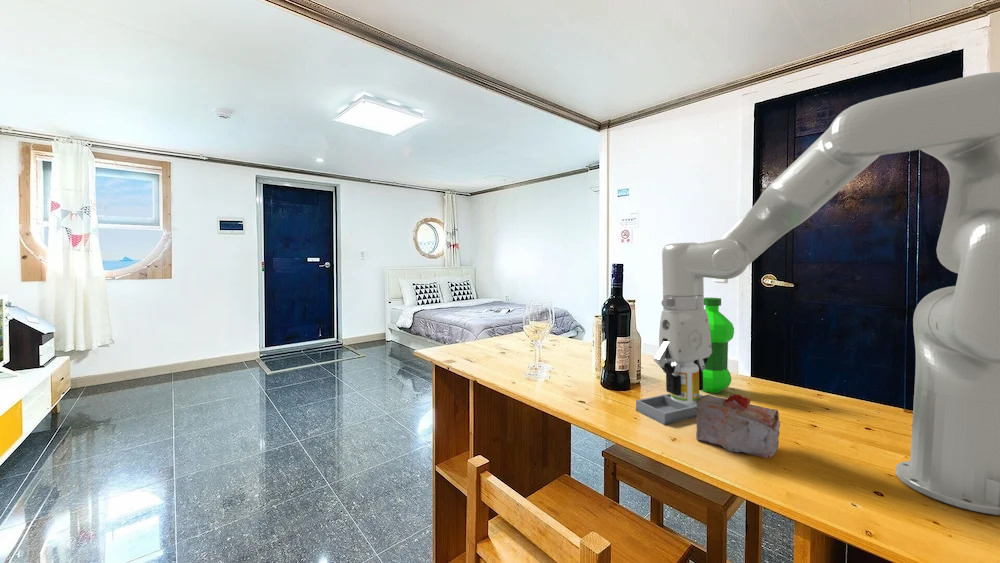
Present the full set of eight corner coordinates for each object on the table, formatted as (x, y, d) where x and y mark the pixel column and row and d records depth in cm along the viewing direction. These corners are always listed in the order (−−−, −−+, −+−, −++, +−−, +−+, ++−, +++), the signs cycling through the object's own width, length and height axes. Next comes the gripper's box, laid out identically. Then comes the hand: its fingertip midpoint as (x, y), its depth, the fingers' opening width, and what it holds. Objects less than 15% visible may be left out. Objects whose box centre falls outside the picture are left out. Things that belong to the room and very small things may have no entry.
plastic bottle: (691, 393, 102) (692, 300, 101) (688, 381, 112) (690, 295, 110) (734, 398, 98) (737, 301, 97) (728, 385, 108) (730, 296, 107)
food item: (781, 449, 73) (783, 398, 72) (777, 467, 67) (778, 411, 66) (701, 428, 82) (702, 383, 81) (691, 443, 76) (692, 394, 75)
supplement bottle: (693, 395, 82) (692, 350, 82) (704, 404, 77) (703, 356, 76) (666, 395, 83) (666, 350, 82) (675, 404, 77) (675, 356, 77)
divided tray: (718, 411, 90) (718, 401, 90) (664, 425, 84) (664, 413, 84) (687, 399, 98) (687, 389, 98) (636, 410, 92) (636, 400, 92)
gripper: (666, 308, 72) (668, 404, 73) (729, 301, 79) (730, 389, 79) (637, 305, 79) (639, 392, 80) (697, 299, 85) (698, 379, 86)
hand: (684, 390), depth 80 cm, fingers closed on supplement bottle, 5 cm apart
